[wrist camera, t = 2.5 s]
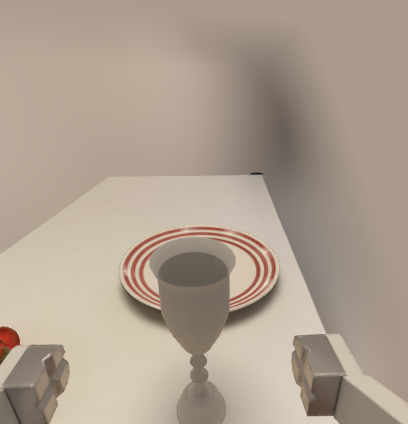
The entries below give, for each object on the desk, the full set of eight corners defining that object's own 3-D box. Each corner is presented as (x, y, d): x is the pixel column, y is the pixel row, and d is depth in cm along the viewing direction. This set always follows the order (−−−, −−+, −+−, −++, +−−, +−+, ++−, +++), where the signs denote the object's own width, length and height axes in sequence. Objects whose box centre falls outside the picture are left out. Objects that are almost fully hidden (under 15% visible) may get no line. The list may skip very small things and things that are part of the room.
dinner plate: (266, 236, 64) (267, 222, 62) (295, 332, 38) (297, 313, 37) (144, 237, 65) (142, 223, 64) (95, 329, 40) (90, 310, 39)
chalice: (246, 432, 27) (252, 274, 20) (177, 459, 26) (157, 297, 19) (219, 367, 34) (216, 231, 27) (162, 386, 32) (143, 244, 25)
